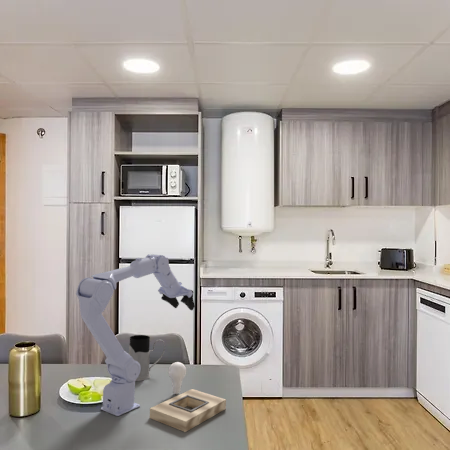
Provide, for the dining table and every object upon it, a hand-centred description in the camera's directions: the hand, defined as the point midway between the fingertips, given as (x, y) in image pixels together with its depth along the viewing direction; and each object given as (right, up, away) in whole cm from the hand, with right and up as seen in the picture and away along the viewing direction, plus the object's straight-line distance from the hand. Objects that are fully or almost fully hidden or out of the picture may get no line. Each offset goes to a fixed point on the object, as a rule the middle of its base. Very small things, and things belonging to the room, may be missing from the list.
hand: (184, 307), depth 158 cm
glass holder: (-16, -28, +7) cm, 33 cm away
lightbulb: (-2, -28, -10) cm, 30 cm away
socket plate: (+4, -28, -25) cm, 38 cm away
